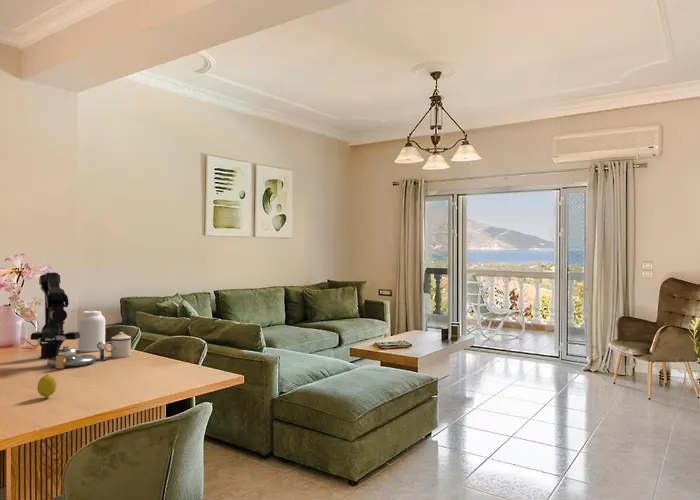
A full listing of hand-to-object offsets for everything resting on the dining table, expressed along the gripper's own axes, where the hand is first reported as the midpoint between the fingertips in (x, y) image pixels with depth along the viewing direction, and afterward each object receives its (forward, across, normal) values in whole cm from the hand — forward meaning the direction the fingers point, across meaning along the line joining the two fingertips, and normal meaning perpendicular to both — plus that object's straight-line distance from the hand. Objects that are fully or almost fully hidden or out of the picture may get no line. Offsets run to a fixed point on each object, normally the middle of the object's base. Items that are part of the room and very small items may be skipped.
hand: (55, 355), depth 227 cm
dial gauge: (+4, +17, +8) cm, 19 cm away
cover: (+2, +5, 0) cm, 5 cm away
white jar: (+4, +2, +36) cm, 36 cm away
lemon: (+4, +23, -57) cm, 61 cm away
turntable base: (+4, +7, 0) cm, 8 cm away
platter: (+3, +7, -1) cm, 8 cm away
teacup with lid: (+4, +21, +17) cm, 27 cm away
